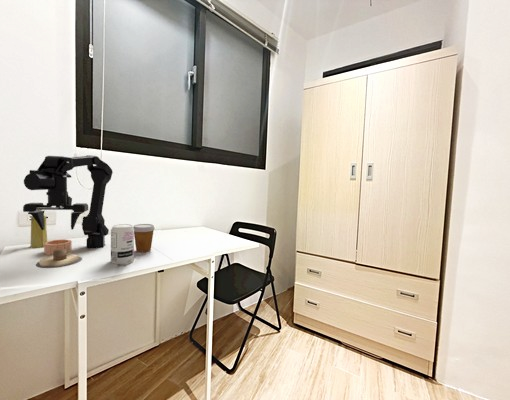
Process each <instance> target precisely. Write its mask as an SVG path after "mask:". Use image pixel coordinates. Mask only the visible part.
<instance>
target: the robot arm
mask: <svg viewBox="0 0 510 400" xmlns="http://www.w3.org/2000/svg"><path fill="white" fill-rule="evenodd" d="M82 166H83V167H84V166H86V169H87V170H88V171H89V172H90V178H91V180H92V182H93V186H92V193H91V194H92V195H91V199H90V206H89V204H88V203H86V202H84V203H80V202H76V203H74V204H72V203H73V197H71V196H69V191H68V178H69V179H70V178H72V175H71V174H70V173H68V171H72V170H74V168H78V167H82ZM113 173H114V172H113V169H112V168H111V167H110V165H109V164H108V163H106V162H105V161H103V160H101V158H100V157H99V156H97V155H83V156H82V155H81V156H64V155H63V156H62V155H61V156H60V155H46V156H45V157H44V160H43V161H42V162H41V164H40V165H39V167H38V168H37V170H36V169H34V170H33V169H30V170H29V173H27V174H26V175H25V177H24V179H23V184H24V187H25V188H26V189H28V190H29V191H46V190H47V192H46V193H45V194H46V195H47V203H46V204H44V203H43V202H29V203H25V204H24V205H23V207H22V211H23V212H24V213H27V215H31V216H33V217H34V219H35V220H36V221H37V223H38V225H39V226H40V228H41V229H42V230H44V227H45V225H44V216H45V210H46V211H47V210H52V211H53V210H54V211H58V210H59V211H60V210H61V211H73V212H71V213H70V229H71V230H74V229H75V225H76V224H77V221H78V219H79V217H80V216H81V214H82V215H83V213H84V214H85V212H87V211H89V212H88V213H87V214H86V216H82V222H81V227H82V228H81V229H82V232H83V235H84V236H87V238H86V249H103V248H104V247H106V244H105V243H106V241H105V239H106V238H105V237H106V236H108V235H109V231H110V230H109V228H108V227H107V226H106V225H105V218H104V216H103V214H102V213H103V207H104V200H105V194H106V187H107V184H108V183H109V182H110V181H111V179H112V175H113Z"/></svg>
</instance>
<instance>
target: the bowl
mask: <svg viewBox="0 0 510 400" xmlns="http://www.w3.org/2000/svg"><path fill="white" fill-rule="evenodd" d="M72 243H73V241H72V240H71V239H68V238H67V239H52V240H47V242H45V243H44V247H43V253H44V255H47V256H53V250H56V249H66V254H69V253H70V252H71V251H72V250H73V249H72V247H73V246H72Z"/></svg>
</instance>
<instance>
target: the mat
mask: <svg viewBox="0 0 510 400" xmlns="http://www.w3.org/2000/svg"><path fill="white" fill-rule="evenodd" d="M82 260H83V257H82V256H79V260H78V261H77V262H75V263H72V264H69V265H64V266H58V267H43V266H40V265H39V261H38V262H37V263H36V264H35V267H36V268H40V269H55V268H57V269H58V268H63V267H68V266H71V265H72V266H73V265H75V264H78V263H80V262H81V261H82Z"/></svg>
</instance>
